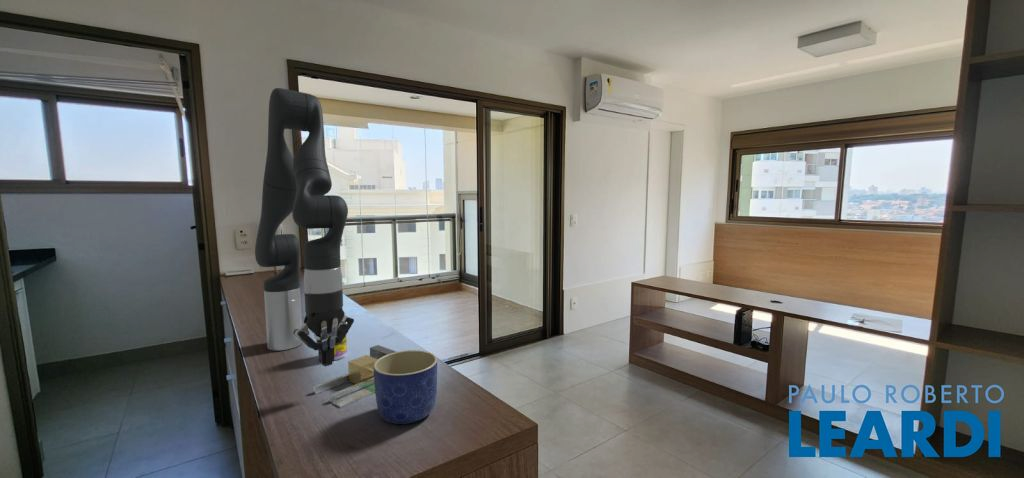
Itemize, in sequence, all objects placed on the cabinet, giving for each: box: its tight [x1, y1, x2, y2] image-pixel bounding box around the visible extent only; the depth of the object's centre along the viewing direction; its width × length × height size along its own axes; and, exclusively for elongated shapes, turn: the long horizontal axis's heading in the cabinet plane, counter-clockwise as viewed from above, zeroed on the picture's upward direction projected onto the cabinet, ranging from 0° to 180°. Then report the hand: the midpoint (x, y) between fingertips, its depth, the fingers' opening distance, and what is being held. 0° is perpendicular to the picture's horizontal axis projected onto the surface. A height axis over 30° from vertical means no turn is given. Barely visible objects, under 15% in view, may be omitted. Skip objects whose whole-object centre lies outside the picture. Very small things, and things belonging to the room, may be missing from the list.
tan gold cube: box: [347, 354, 378, 385], centre depth 94 cm, size 8×5×5 cm, turn 54°
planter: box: [373, 349, 438, 425], centre depth 81 cm, size 12×12×11 cm
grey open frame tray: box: [312, 344, 397, 408], centre depth 93 cm, size 11×17×6 cm, turn 143°
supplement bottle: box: [334, 326, 348, 361], centre depth 110 cm, size 7×7×13 cm
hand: (326, 364), depth 88 cm, fingers closed
